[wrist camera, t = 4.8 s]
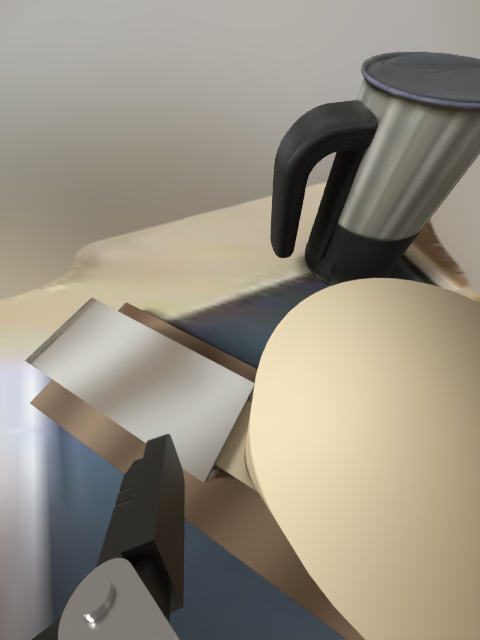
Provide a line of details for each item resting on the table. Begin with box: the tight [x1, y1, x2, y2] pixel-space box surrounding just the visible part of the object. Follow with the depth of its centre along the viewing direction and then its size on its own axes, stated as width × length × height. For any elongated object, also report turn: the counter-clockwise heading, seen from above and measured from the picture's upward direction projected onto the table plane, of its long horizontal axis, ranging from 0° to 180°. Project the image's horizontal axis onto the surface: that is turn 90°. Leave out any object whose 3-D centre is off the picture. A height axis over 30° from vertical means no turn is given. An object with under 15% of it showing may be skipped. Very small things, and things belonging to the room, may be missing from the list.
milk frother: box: [271, 52, 480, 287], centre depth 18 cm, size 14×16×15 cm
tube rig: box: [25, 298, 365, 640], centre depth 14 cm, size 29×10×7 cm, turn 61°
